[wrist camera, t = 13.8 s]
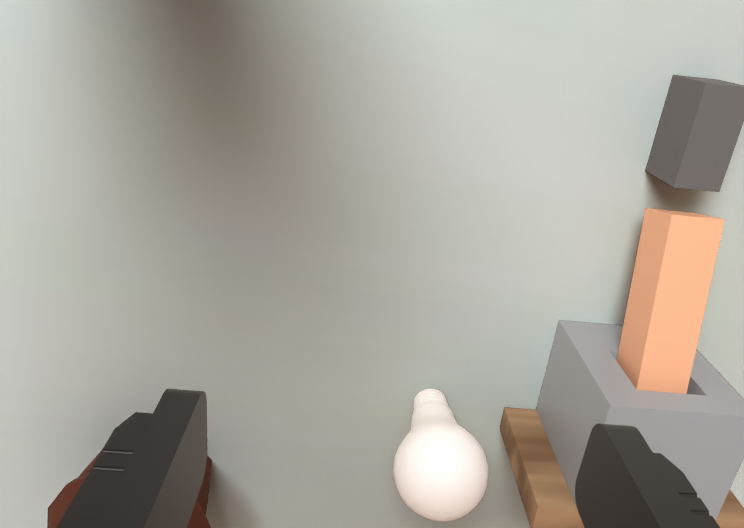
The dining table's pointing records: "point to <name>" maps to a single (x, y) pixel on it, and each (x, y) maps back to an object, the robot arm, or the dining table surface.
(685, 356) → the dowel
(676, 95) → the block
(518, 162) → the dining table surface
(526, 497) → the wooden board
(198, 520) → the muffin
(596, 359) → the block
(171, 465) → the robot arm
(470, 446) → the lightbulb
